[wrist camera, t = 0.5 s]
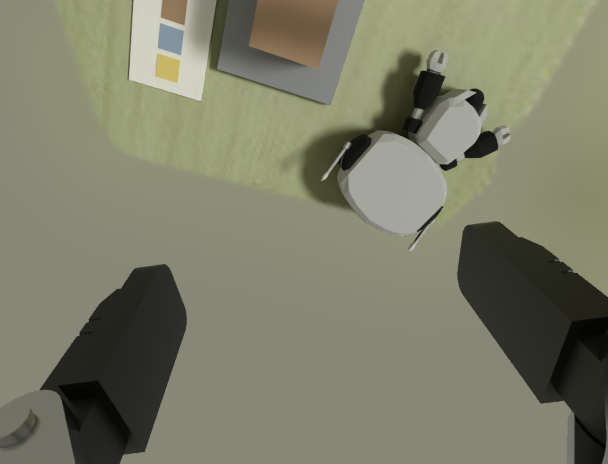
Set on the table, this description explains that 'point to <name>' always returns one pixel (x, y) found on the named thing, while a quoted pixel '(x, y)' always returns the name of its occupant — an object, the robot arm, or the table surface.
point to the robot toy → (415, 156)
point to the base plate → (281, 70)
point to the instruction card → (171, 44)
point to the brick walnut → (293, 28)
